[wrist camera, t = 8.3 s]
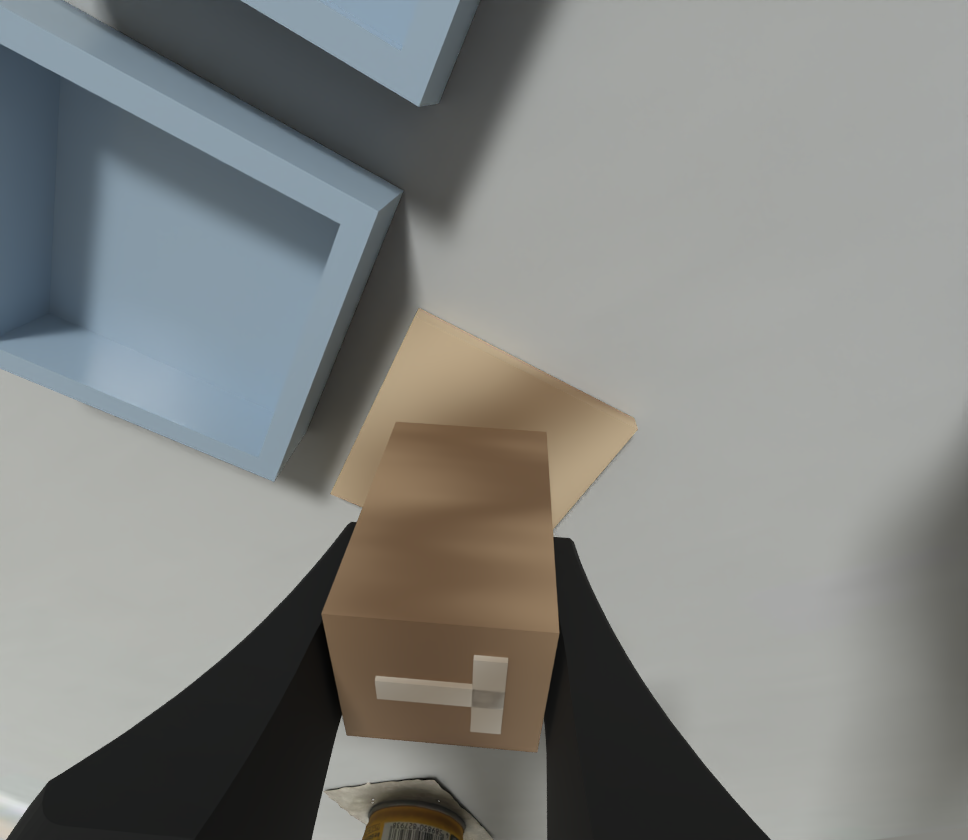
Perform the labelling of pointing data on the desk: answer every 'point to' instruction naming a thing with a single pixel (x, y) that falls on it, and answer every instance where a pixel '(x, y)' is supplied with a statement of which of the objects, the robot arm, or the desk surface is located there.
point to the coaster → (485, 409)
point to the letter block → (449, 592)
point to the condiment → (408, 811)
